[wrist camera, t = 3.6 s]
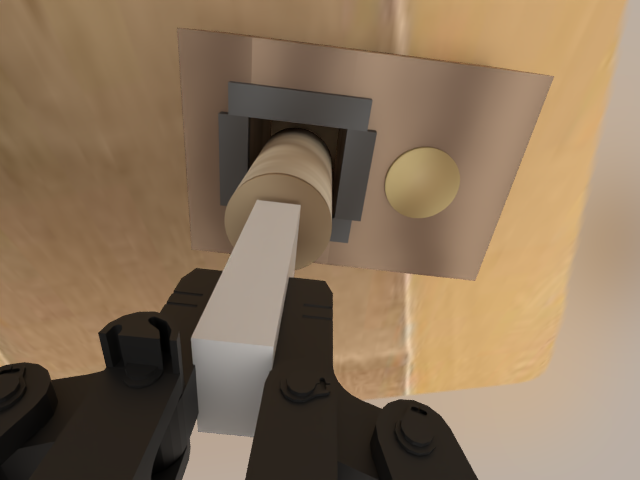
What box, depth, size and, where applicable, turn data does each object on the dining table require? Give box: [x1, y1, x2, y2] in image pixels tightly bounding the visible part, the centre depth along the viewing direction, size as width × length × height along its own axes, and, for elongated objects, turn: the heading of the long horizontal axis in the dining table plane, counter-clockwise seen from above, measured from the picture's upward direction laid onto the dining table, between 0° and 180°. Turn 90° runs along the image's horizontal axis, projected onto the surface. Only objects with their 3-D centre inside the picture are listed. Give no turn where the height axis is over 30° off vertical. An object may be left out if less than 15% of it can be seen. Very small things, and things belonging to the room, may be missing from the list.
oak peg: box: [224, 128, 332, 270], centre depth 17 cm, size 4×4×8 cm
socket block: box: [177, 28, 554, 281], centre depth 23 cm, size 18×12×9 cm, turn 84°
